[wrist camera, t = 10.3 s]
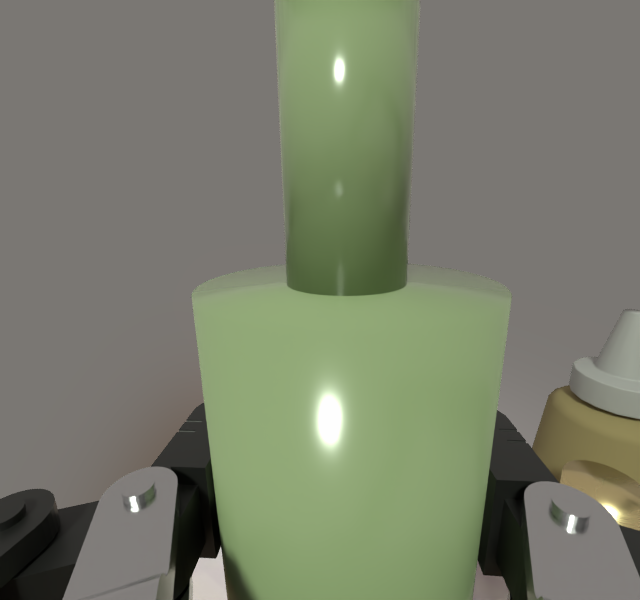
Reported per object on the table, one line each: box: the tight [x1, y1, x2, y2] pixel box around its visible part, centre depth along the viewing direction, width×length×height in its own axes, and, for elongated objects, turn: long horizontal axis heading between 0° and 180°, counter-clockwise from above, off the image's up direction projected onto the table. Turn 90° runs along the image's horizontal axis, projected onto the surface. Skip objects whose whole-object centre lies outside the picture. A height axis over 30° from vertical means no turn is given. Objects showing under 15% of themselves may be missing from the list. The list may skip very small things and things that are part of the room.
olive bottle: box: [192, 0, 512, 600], centre depth 8 cm, size 5×5×22 cm
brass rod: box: [560, 460, 640, 531], centre depth 16 cm, size 3×3×12 cm
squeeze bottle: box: [532, 309, 640, 484], centre depth 21 cm, size 8×8×18 cm
